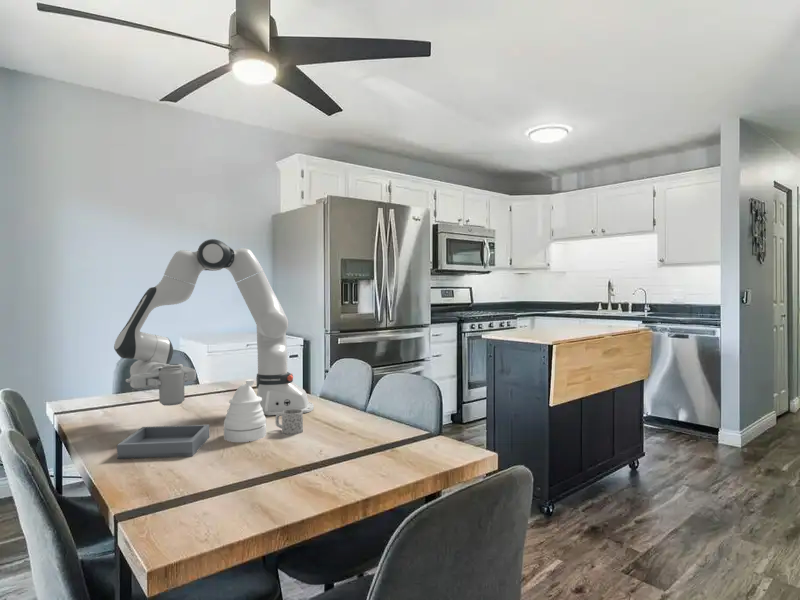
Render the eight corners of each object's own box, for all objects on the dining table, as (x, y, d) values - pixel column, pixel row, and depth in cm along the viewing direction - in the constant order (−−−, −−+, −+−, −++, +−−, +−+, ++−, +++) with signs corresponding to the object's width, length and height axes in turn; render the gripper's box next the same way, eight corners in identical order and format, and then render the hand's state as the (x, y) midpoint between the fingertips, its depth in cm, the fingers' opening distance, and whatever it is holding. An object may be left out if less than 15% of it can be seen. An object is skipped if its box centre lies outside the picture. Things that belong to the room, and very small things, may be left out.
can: (174, 406, 162) (174, 369, 162) (154, 405, 164) (153, 368, 163) (189, 401, 169) (188, 365, 169) (169, 400, 171) (169, 364, 170)
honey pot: (274, 432, 166) (273, 377, 165) (250, 444, 154) (249, 384, 153) (240, 428, 170) (240, 375, 169) (215, 440, 158) (214, 382, 157)
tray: (209, 437, 161) (209, 424, 160) (192, 456, 143) (192, 442, 143) (143, 439, 158) (142, 426, 158) (117, 459, 141) (117, 444, 140)
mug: (306, 430, 168) (306, 410, 168) (294, 435, 162) (294, 414, 162) (282, 426, 172) (282, 407, 172) (269, 432, 166) (269, 411, 166)
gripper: (123, 370, 168) (138, 375, 158) (185, 363, 182) (202, 367, 173) (123, 389, 168) (138, 395, 158) (185, 380, 182) (203, 386, 173)
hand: (172, 381), depth 166 cm, fingers closed on can, 7 cm apart
